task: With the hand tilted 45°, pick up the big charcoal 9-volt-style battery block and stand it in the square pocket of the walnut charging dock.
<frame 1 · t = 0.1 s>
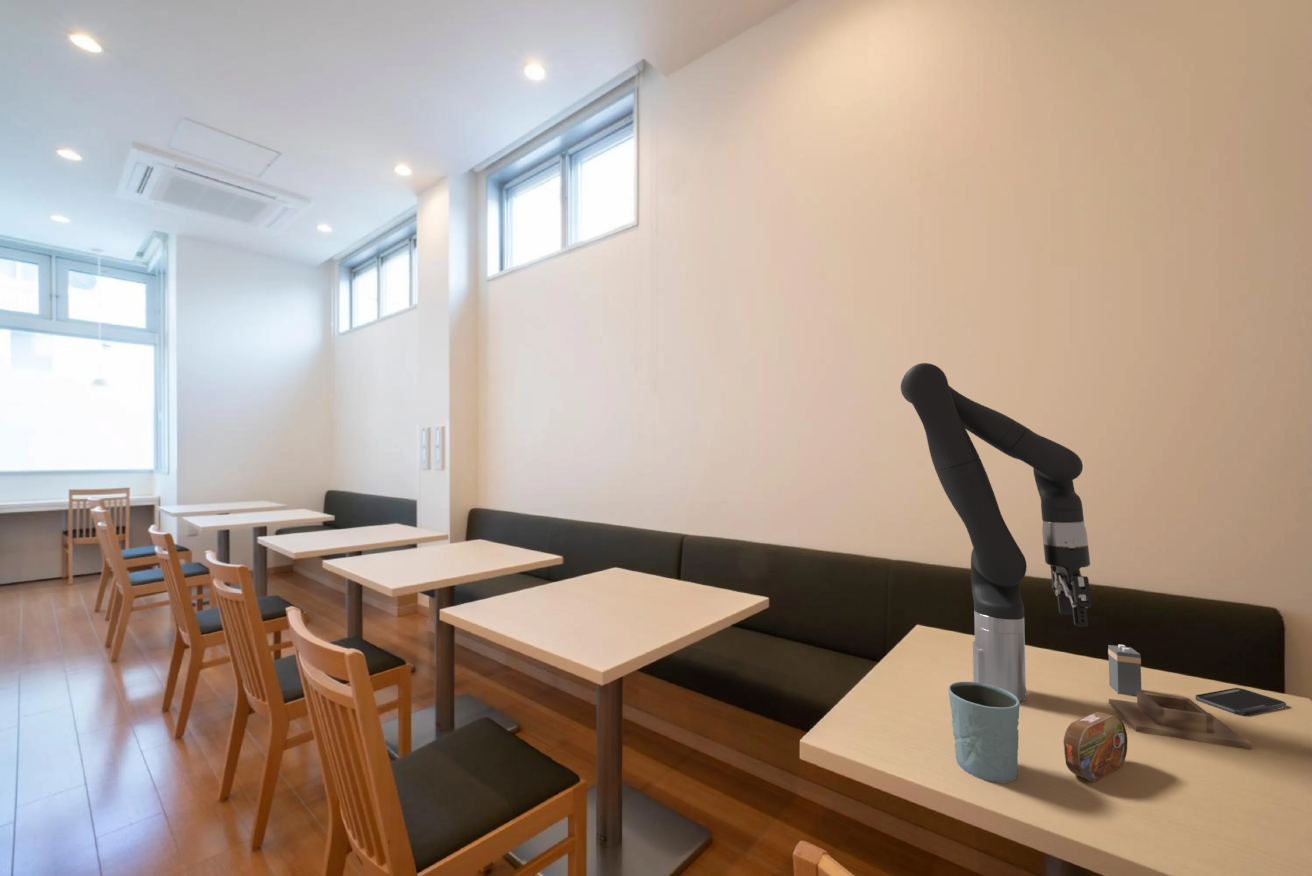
hand: (1073, 620, 110), 17 cm above the table, tool pointing down, fingers open, 8 cm apart
cell: (1125, 690, 116), on the table
dock: (1173, 724, 101), on the table
phone: (1240, 705, 110), on the table
teal embossed cup: (984, 768, 87), on the table
tin: (1096, 771, 86), on the table
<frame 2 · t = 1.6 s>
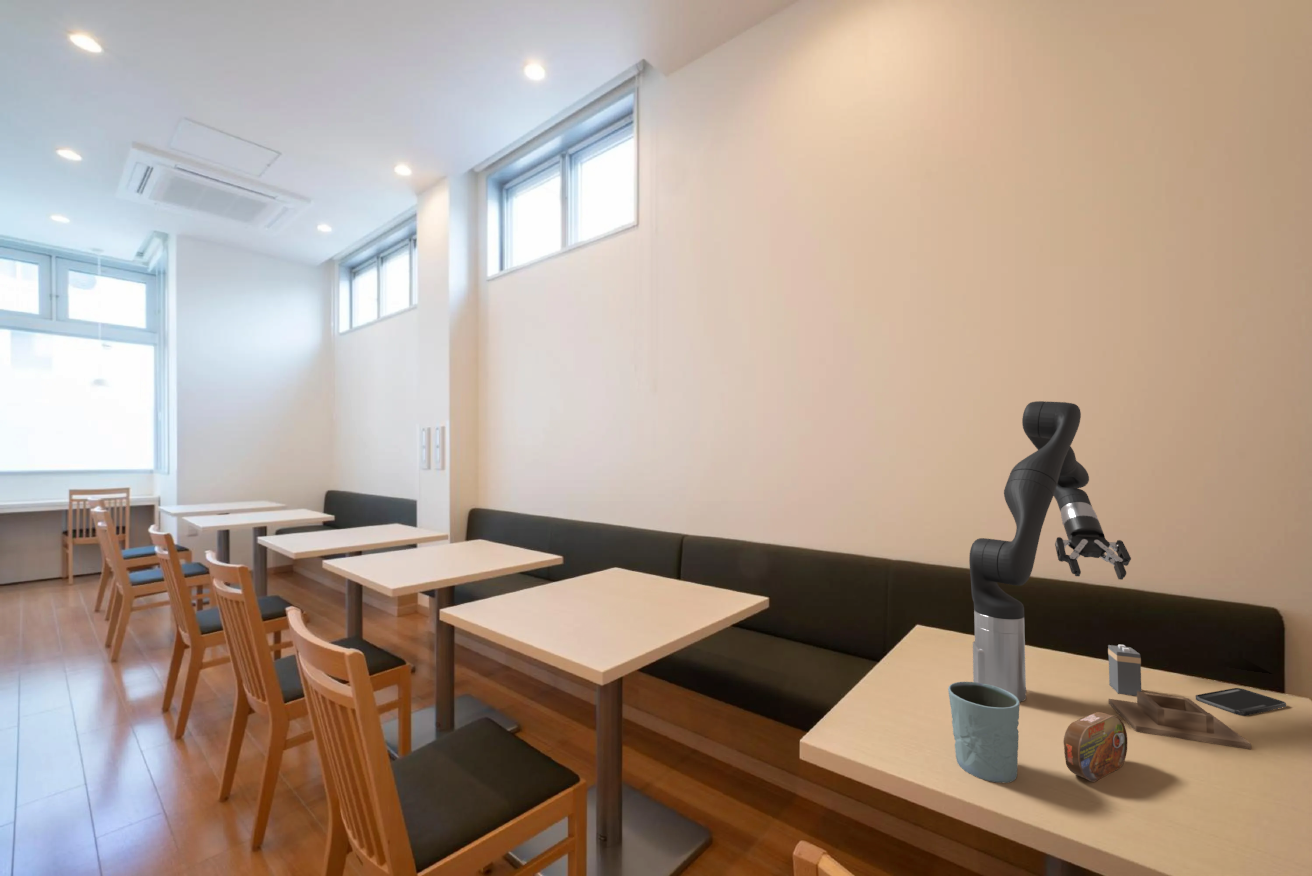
hand: (1099, 576, 128), 23 cm above the table, tool tilted 45°, fingers open, 8 cm apart
nothing on the table moved.
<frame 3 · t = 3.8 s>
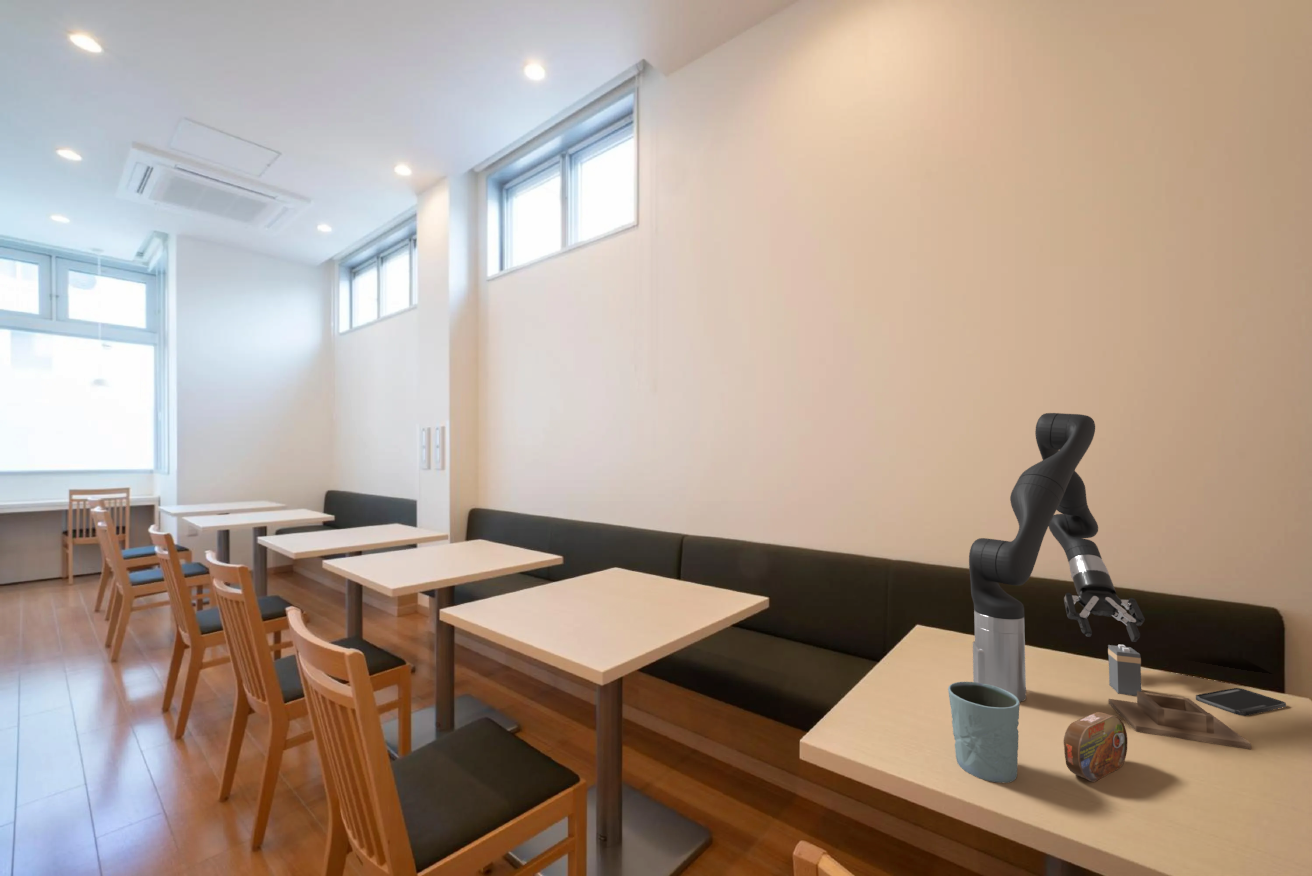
hand: (1112, 637, 121), 10 cm above the table, tool tilted 45°, fingers open, 8 cm apart
nothing on the table moved.
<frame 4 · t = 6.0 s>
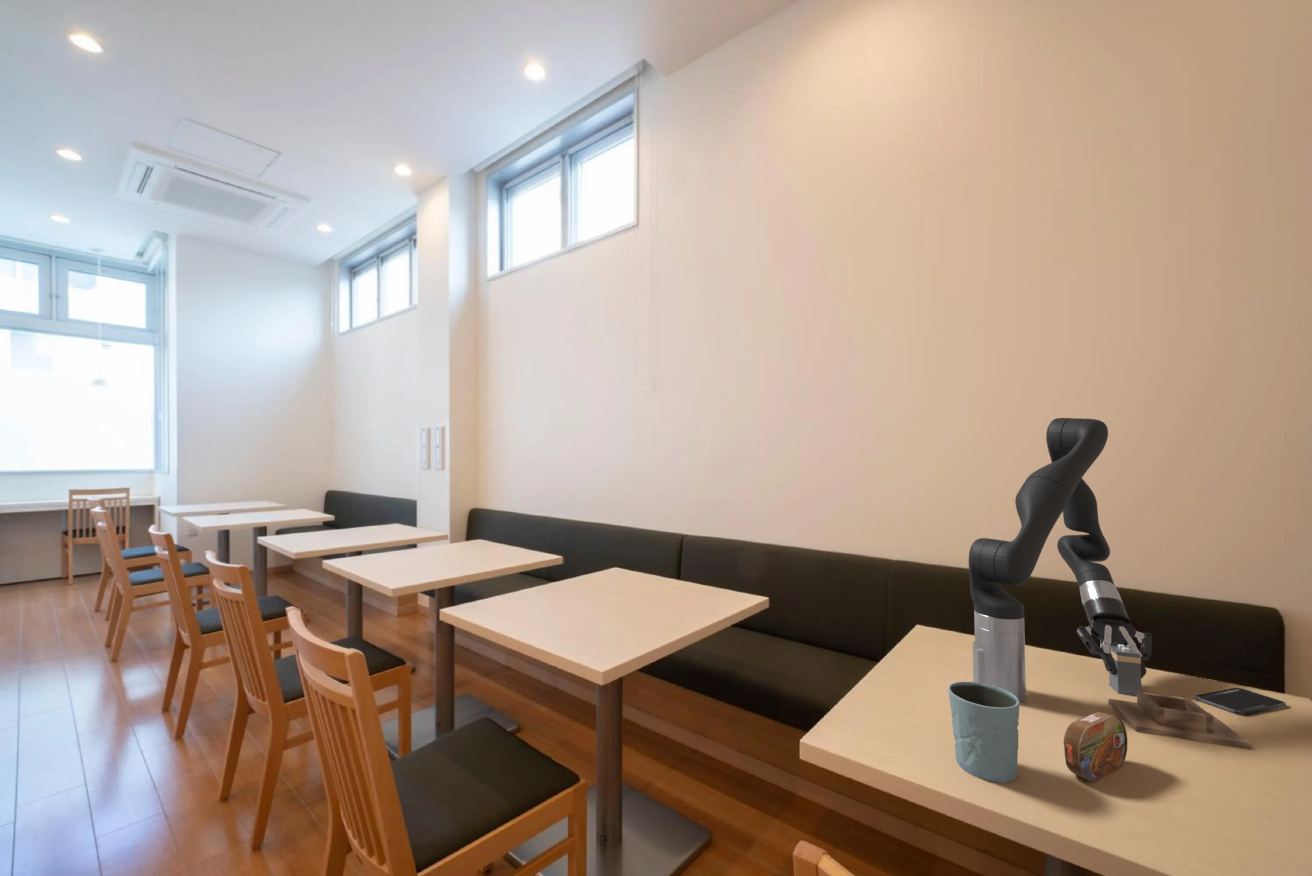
hand: (1127, 674, 114), 4 cm above the table, tool tilted 45°, fingers closed on cell, 4 cm apart
cell: (1125, 690, 116), on the table, touching gripper
everything else where it was.
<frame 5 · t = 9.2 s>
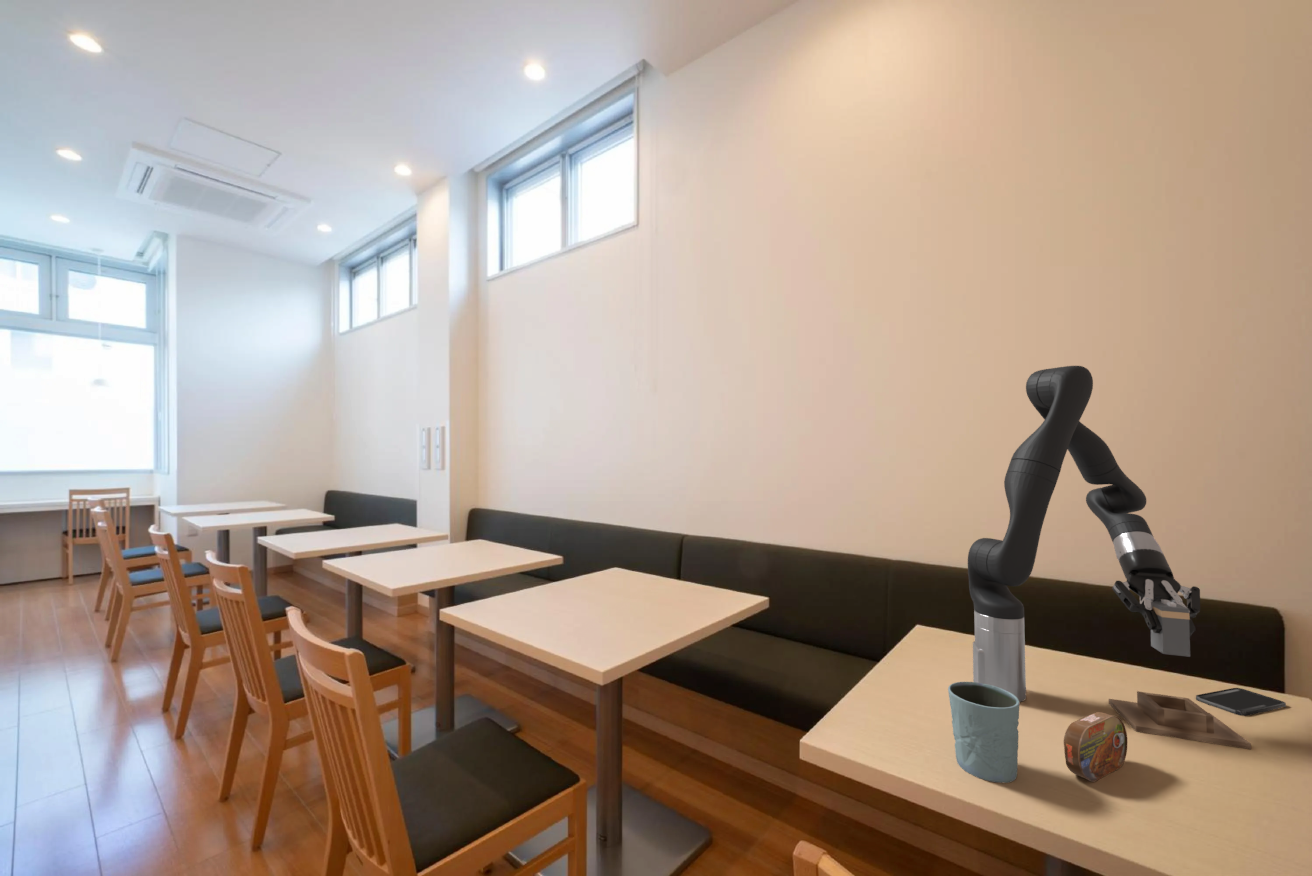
hand: (1173, 632, 101), 18 cm above the table, tool tilted 45°, fingers closed on cell, 4 cm apart
cell: (1170, 651, 102), point 14 cm above the table, touching gripper
everything else where it was.
when the fingers open (6 cm above the table, at t = 12.2 s): cell drops 1 cm, resting on dock.
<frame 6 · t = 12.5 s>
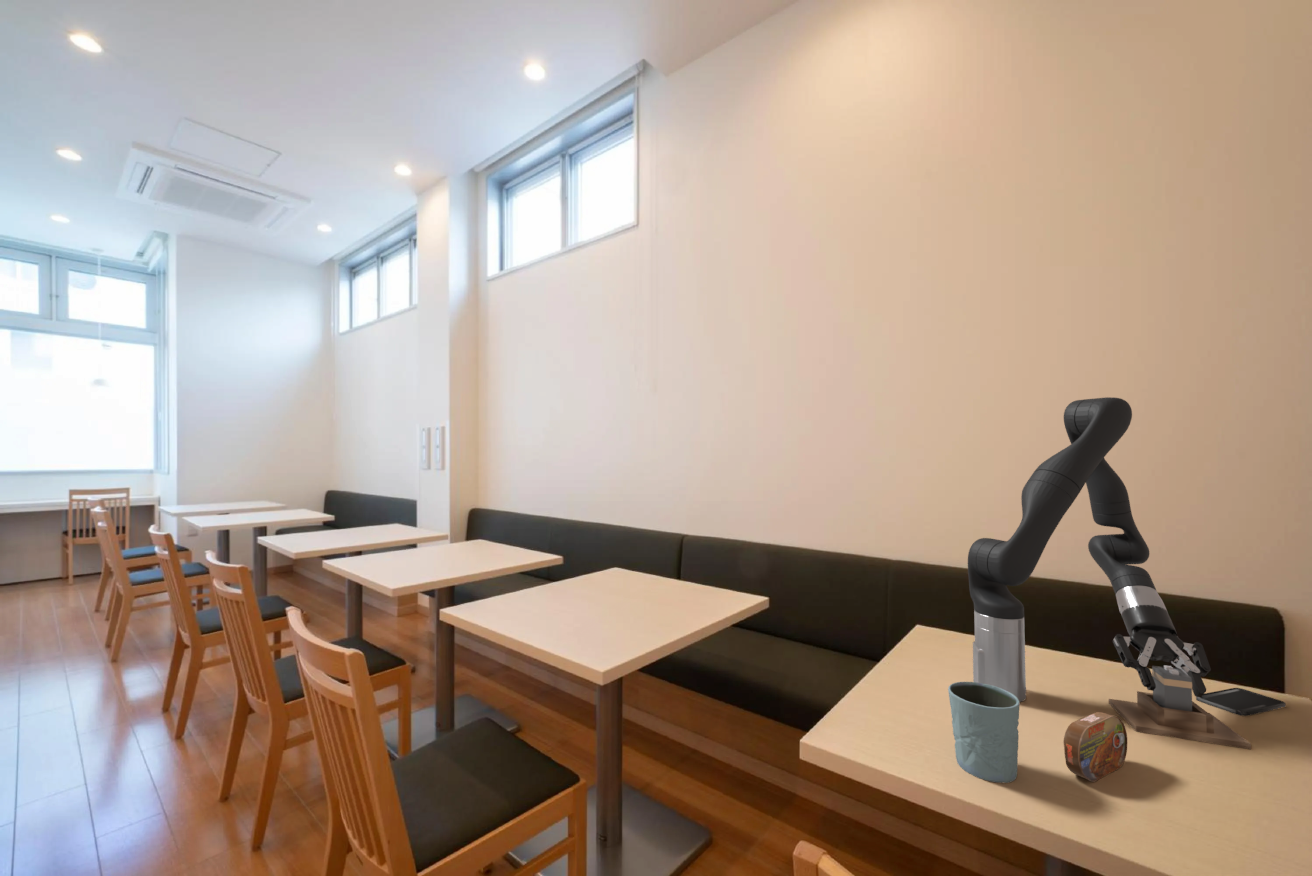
hand: (1175, 691, 100), 7 cm above the table, tool tilted 45°, fingers open, 6 cm apart
cell: (1172, 718, 101), point 1 cm above the table, touching dock
everything else where it was.
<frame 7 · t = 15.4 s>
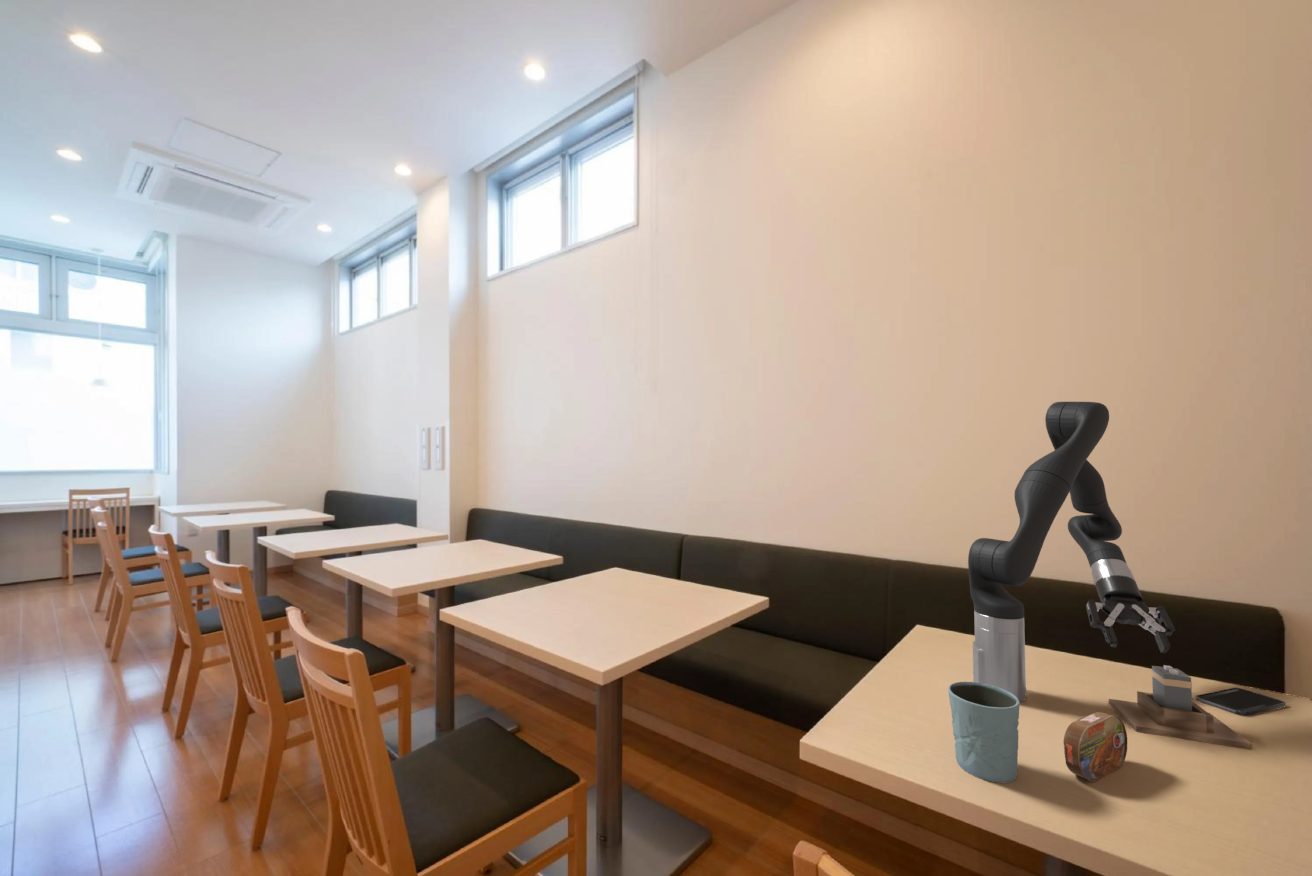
hand: (1139, 648, 113), 10 cm above the table, tool tilted 45°, fingers open, 8 cm apart
nothing on the table moved.
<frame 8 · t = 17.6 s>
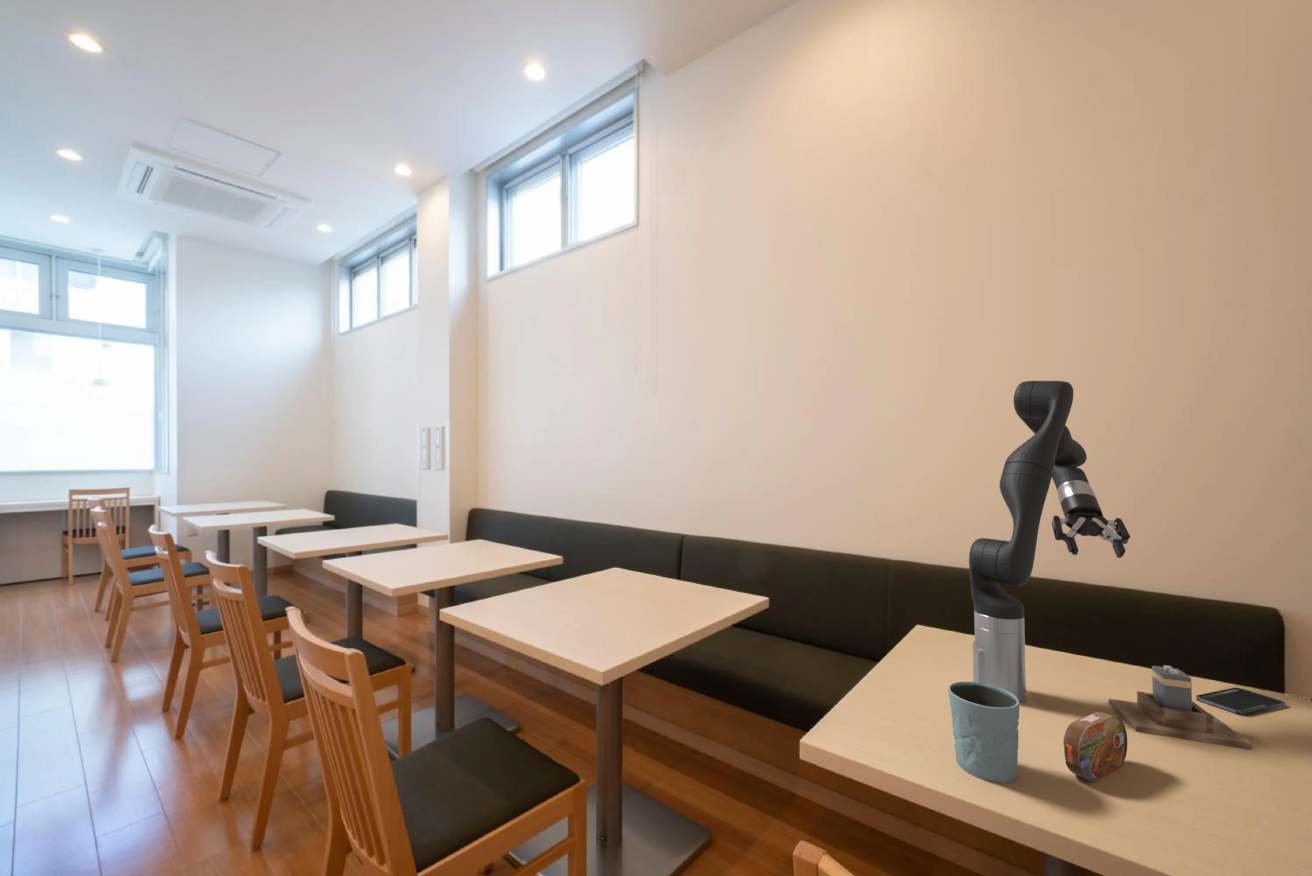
hand: (1097, 554, 124), 29 cm above the table, tool tilted 45°, fingers open, 8 cm apart
nothing on the table moved.
at the end: cell 0.1 cm off-centre on the dock, point 1.0 cm above the dock's base; cell tilted 0°; the gripper is holding nothing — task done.
